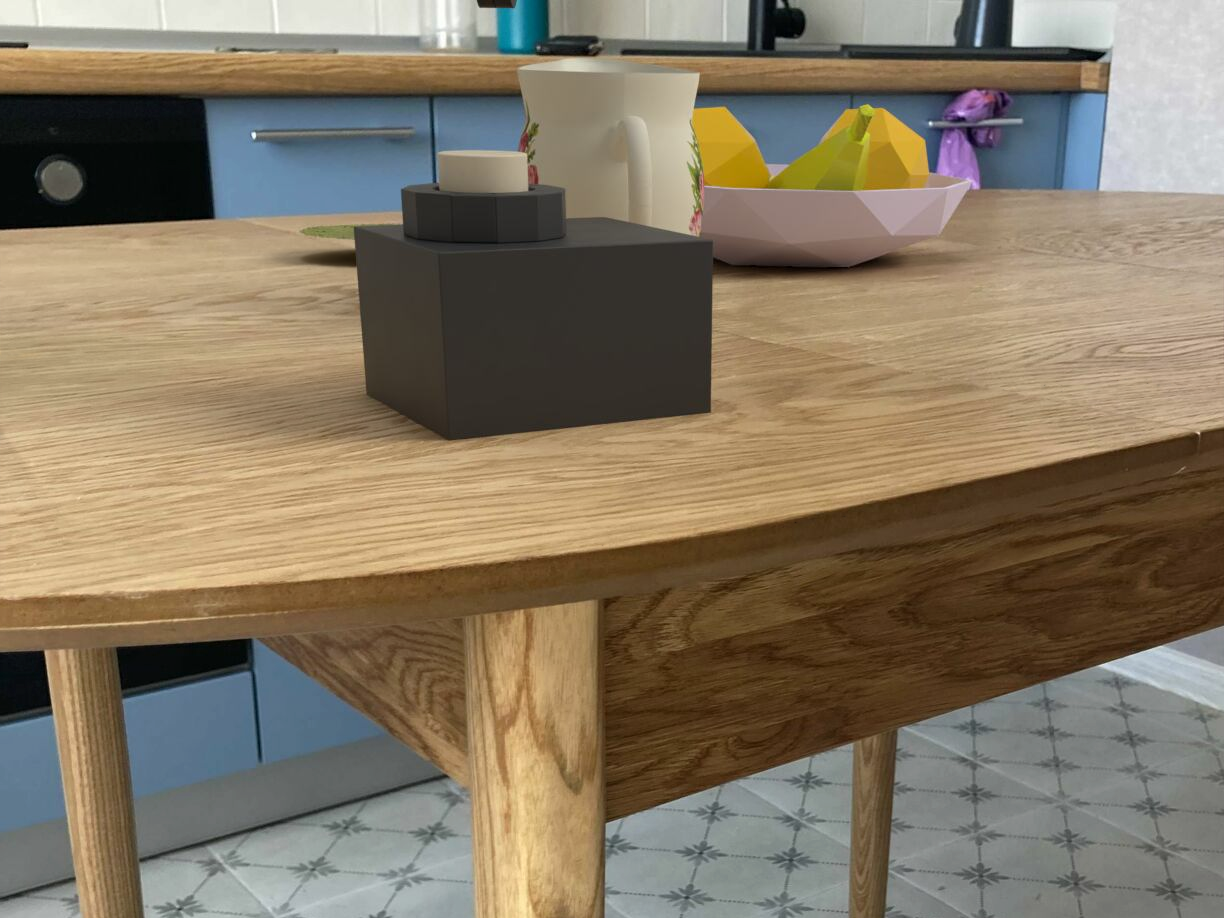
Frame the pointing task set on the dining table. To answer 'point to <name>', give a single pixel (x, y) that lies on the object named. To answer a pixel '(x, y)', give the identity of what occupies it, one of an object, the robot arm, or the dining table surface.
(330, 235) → the mat
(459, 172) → the lid button
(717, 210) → the fruit bowl
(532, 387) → the base
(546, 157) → the pitcher
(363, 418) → the dining table surface
